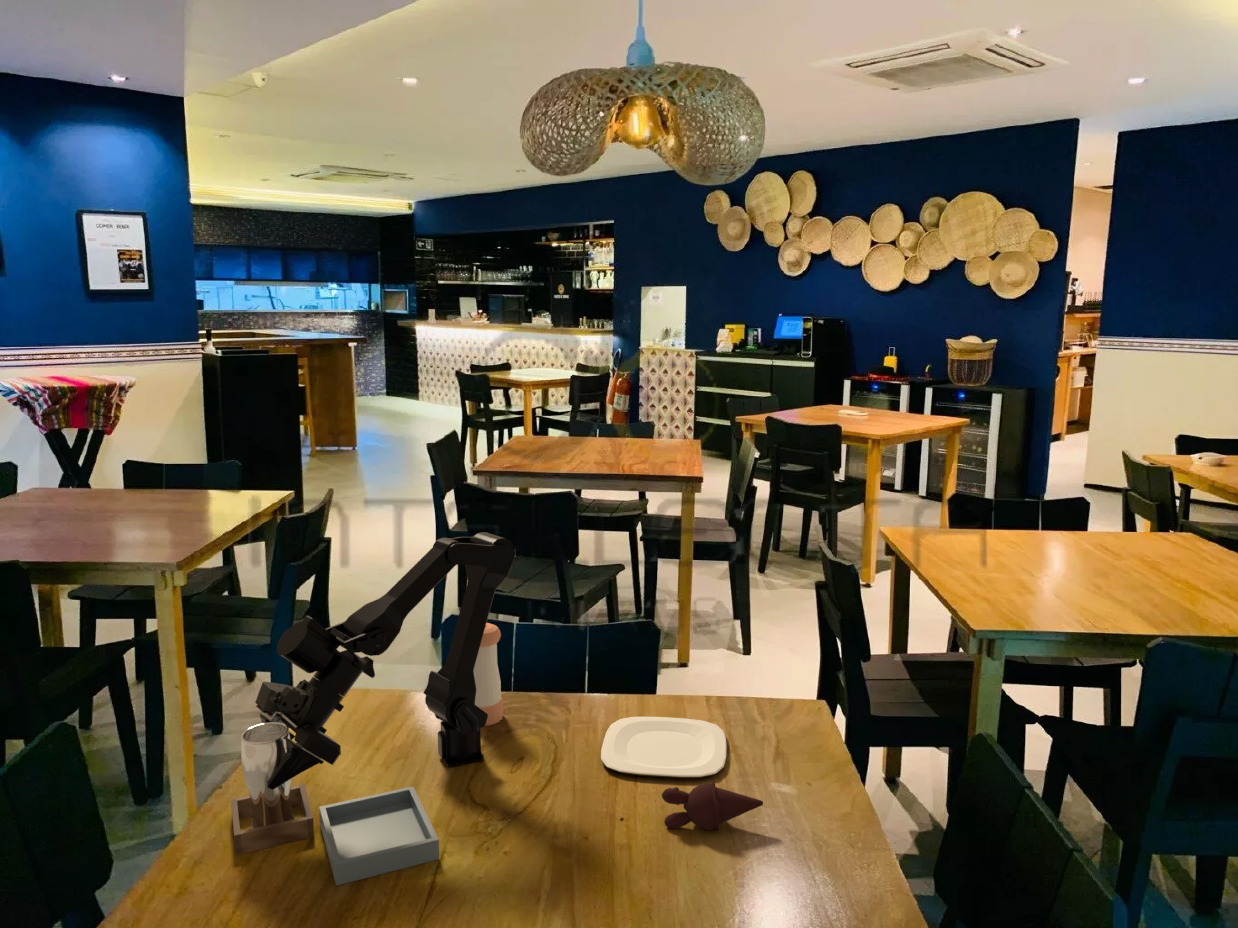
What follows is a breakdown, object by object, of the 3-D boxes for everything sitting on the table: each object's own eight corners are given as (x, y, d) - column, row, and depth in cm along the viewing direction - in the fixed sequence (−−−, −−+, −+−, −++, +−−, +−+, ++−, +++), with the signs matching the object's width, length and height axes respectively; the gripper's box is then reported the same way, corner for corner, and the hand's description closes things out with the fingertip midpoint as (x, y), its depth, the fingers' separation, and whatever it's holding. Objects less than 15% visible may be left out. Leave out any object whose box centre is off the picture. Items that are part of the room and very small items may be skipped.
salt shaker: (470, 729, 166) (467, 630, 163) (460, 713, 172) (457, 617, 169) (507, 721, 169) (506, 624, 166) (496, 706, 175) (494, 612, 172)
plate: (594, 779, 149) (594, 769, 148) (611, 721, 170) (611, 713, 170) (726, 787, 146) (726, 778, 146) (726, 728, 168) (726, 719, 167)
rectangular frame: (305, 801, 141) (304, 784, 140) (314, 836, 131) (313, 817, 131) (232, 817, 136) (231, 799, 136) (235, 855, 127) (234, 835, 126)
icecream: (758, 772, 138) (660, 778, 138) (763, 785, 130) (661, 792, 131) (762, 818, 137) (664, 825, 138) (768, 834, 130) (664, 841, 130)
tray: (413, 803, 140) (413, 786, 140) (439, 859, 126) (438, 839, 125) (320, 825, 134) (319, 806, 134) (336, 885, 120) (335, 865, 120)
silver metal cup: (282, 841, 130) (273, 745, 127) (238, 836, 131) (229, 741, 128) (307, 814, 137) (299, 722, 134) (265, 810, 138) (256, 719, 135)
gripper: (265, 644, 139) (196, 732, 134) (314, 680, 125) (240, 780, 120) (317, 678, 146) (253, 764, 140) (370, 716, 132) (301, 813, 126)
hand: (260, 778), depth 132 cm, fingers closed on silver metal cup, 7 cm apart
